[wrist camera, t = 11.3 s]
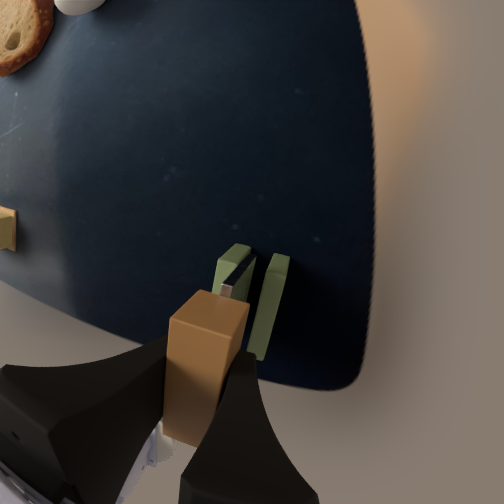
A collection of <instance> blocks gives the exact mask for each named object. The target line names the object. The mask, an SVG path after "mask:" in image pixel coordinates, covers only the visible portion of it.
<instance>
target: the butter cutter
mask: <svg viewBox="0 0 504 504" xmlns="http://www.w3.org/2000/svg"><path fill="white" fill-rule="evenodd" d="M255 260H256V255H254V254H250V253H249V254H248V255H247V256H246V257H245V258H244V259H243V260H242V261H241V263H240V264H239V265H238V266H237V267H236V268H235V269H234V270H233V271H232V273H231V274H230V275H229V276H228V277H227V278H226V279H225V280H224V282H223V283H222V284H221V288H220V294H219V295H217V294H214V293H210V292H207V291H204V290H199V291H198V292H197V293H196V294H195V295H194V296H192V297H191V298H190V299H189V300H188V301H187V302H186V303H185V304H184V305H183V306H182V307H181V308H180V309H179V310H178V311H177V312H176V313H175V314H174V315H173V316H172V317H171V318H170V324H169V334H168V345H167V357H166V370H165V384H164V402H163V425H162V434H163V435H165V436H168V437H170V438H173V439H175V440H178V441H180V442H183V443H186V444H188V445H191V446H194V447H197V448H198V446H199V445H200V443H201V441H202V439H203V437H204V435H205V433H206V432H207V430H208V428H209V426H210V424H211V422H212V420H213V418H214V416H215V413H216V411H217V409H218V407H219V405H220V403H221V400H222V398H223V395H224V392H225V389H226V385H227V381H228V377H229V373H230V369H231V365H232V361H233V359H234V357H235V356H236V354H237V352H238V351H239V349H240V346H241V342H242V338H243V333H244V329H245V325H246V321H247V316H248V312H249V308H250V304H249V303H246V300H247V296H248V291H249V287H250V283H251V278H252V274H253V269H254V265H255Z"/></svg>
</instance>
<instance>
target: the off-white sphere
mask: <svg viewBox="0 0 504 504" xmlns="http://www.w3.org/2000/svg"><path fill="white" fill-rule="evenodd" d="M54 2H55V5H56V7H57V8H58V9H59V10H60V11H61V12H62V13H64V14H66V15H70V16H77V15H82V14H85V13H88V12H90V11H92V10H94V9H96V8H98V7H99V6H101V5H102V4H103V3H104V2H105V0H54Z"/></svg>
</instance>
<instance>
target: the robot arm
mask: <svg viewBox="0 0 504 504" xmlns="http://www.w3.org/2000/svg"><path fill="white" fill-rule="evenodd" d="M167 345H168V334H167V335H165V336H163V337H161V338H159V339H157V340H154V341H152V342H150V343H148V344H145V345H143V346H141V347H138V348H136V349H133V350H131V351H128V352H125V353H122V354H120V355H117V356H114V357H110V358H107V359H104V360H99V361H95V362H90V363H84V364H78V365H70V366H60V367H27V366H15V365H8V364H6V365H5V366H3V367H2V368H0V504H31V503H30V502H29V500H30V501H31V502H32V503H33V504H122V502H123V501H124V499H126V498H127V497H128V496H129V495H130V494H131V492H132V490H133V489H134V487H135V485H136V484H137V482H138V480H139V479H140V476H141V475H142V473H143V472H144V470H145V468H146V467H147V465H150V466H152V467H155V466H156V464H157V455H156V430H157V424H158V423H159V421H160V420H161V419H162V417H163V402H164V384H165V370H166V357H167ZM256 359H257V356H256V355H255V353H252V352H248V351H244V350H241V349H239V351H238V352H237V354H236V356H235V357H234V359H233V361H232V365H231V369H230V373H229V377H228V381H227V385H226V389H225V392H224V395H223V398H222V400H221V403H220V405H219V407H218V409H217V411H216V413H215V416H214V418H213V420H212V422H211V424H210V426H209V428H208V430H207V432H206V433H205V435H204V437H203V439H202V441H201V443H200V445H199V446H198V448H197V450H196V452H195V453H194V455H193V457H192V459H191V460H190V462H189V463H188V465H187V467H186V468H185V470H184V472H183V473H182V475H181V480H180V491H179V502H178V504H319V499H318V495H317V493H316V492H315V491H314V490H313V489H312V488H311V487H310V485H308V483H307V482H306V481H305V480H304V478H303V477H302V476H301V475H300V474H299V472H298V471H297V470H296V468H295V467H294V465H293V464H292V463H291V461H290V460H289V458H288V456H287V455H286V453H285V451H284V450H283V448H282V446H281V445H280V443H279V441H278V439H277V437H276V435H275V433H274V431H273V429H272V427H271V424H270V422H269V420H268V417H267V414H266V411H265V408H264V405H263V402H262V398H261V395H260V390H259V385H258V379H257V371H256ZM10 480H11V481H12V482H13V483H14V484H15V485H14V484H13V483H12V482H11V481H10Z"/></svg>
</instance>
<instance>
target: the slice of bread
mask: <svg viewBox="0 0 504 504" xmlns="http://www.w3.org/2000/svg"><path fill="white" fill-rule="evenodd" d="M54 3H55V2H54V0H0V77H4V76H6V75H9V74H11V73H13V72H15V71H17V70H18V69H20V68H21V67H23V66H24V65H25V64H26V63H27V62H29V61H30V60H32V59H34V58H35V57H36V56H37V55H38V54H39V52H40V51H41V49H42V47H43V45H44V43H45V41H46V39H47V37H48V35H49V33H50V31H51V29H52V27H53V23H54V20H53V7H54Z"/></svg>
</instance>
